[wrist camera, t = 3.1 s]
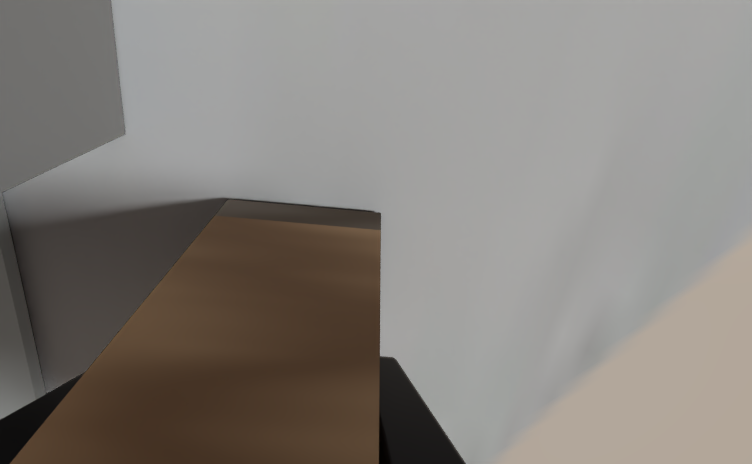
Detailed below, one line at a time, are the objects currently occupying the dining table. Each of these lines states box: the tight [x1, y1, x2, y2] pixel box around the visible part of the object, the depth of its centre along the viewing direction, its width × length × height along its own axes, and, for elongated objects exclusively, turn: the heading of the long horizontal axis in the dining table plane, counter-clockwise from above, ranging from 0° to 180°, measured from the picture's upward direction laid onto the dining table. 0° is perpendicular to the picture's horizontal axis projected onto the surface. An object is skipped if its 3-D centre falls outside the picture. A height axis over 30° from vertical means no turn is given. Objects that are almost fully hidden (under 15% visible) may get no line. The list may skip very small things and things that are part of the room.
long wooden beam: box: [10, 199, 381, 464], centre depth 8 cm, size 4×4×10 cm
